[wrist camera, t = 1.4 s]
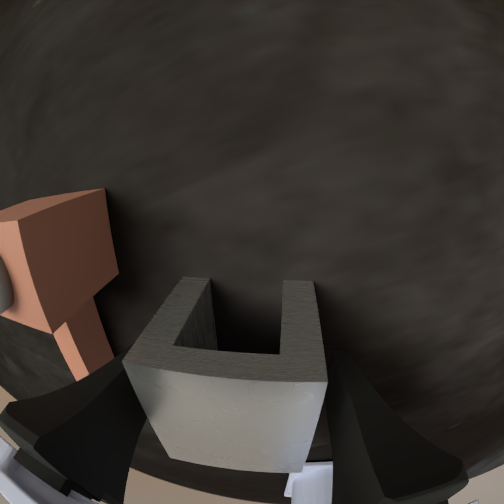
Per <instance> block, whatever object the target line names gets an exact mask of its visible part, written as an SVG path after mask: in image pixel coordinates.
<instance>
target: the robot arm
mask: <svg viewBox="0 0 504 504" xmlns="http://www.w3.org/2000/svg"><path fill="white" fill-rule="evenodd" d="M132 346H133V345H131V346H130V347H129V348H127V349H126V350H124V351H123V352H122V353H120V354H119V355H118V356H116V357H115V358H113V359H112V360H111V361H109V362H108V363H106V364H105V365H103V366H102V367H100V368H99V369H97V370H95V371H94V372H92V373H91V374H89V375H87V376H86V377H84V378H82V379H80V380H78V381H76V382H74V383H72V384H70V385H68V386H66V387H63V388H61V389H59V390H56V391H54V392H51V393H48V394H45V395H42V396H38V397H34V398H30V399H25V400H20V401H14V402H9V404H8V405H7V406H6V408H5V409H4V410H3V411H2V413H1V414H0V426H1V428H2V429H3V430H4V431H5V432H6V433H7V434H8V435H9V437H10V438H11V439H12V440H13V441H14V442H15V443H16V444H17V445H18V446H19V447H20V448H19V450H18V451H17V450H16V449H15V448H14V447H13V446H11V445H10V444H9V443H8V442H7V441H6V440H4V439H3V438H2V437H1V436H0V493H2V495H3V496H4V497H5V498H6V499H7V500H8V501H9V502H10V504H98V503H96V502H94V501H92V500H91V499H94V500H96V501H99V502H100V501H103V502H105V503H107V504H123V502H124V494H125V487H126V482H127V477H128V472H129V468H130V464H131V460H132V457H133V453H134V450H135V447H136V444H137V440H138V437H139V435H140V432H141V430H142V428H143V426H144V424H145V421H146V419H147V415H146V413H145V411H144V409H143V407H142V405H141V403H140V401H139V399H138V397H137V395H136V393H135V391H134V388H133V386H132V384H131V382H130V379H129V377H128V375H127V372H126V370H125V368H124V365H123V363H122V360H123V359H124V357H125V356H126V354H127V353H128V352H129V350H130V349H131V347H132ZM327 378H328V384H327V388H326V392H325V398H326V410H327V417H328V424H329V431H330V438H331V445H332V455H333V461H330V462H305V464H304V467H303V470H302V473H290V474H289V477H288V481H287V485H286V489H285V493H284V496H286V497H292V500H291V504H448V499H449V498H450V497H451V496H453V495H455V494H456V493H457V492H459V491H460V490H462V489H463V488H464V487H465V486H466V485H467V484H468V482H469V480H468V476H467V472H466V469H465V466H464V464H463V461H462V460H460V459H458V458H456V457H454V456H452V455H450V454H448V453H446V452H444V451H443V450H441V449H439V448H438V447H436V446H435V445H433V444H432V443H430V442H429V441H427V440H426V439H425V438H423V437H422V436H421V435H420V434H418V433H417V432H416V431H414V430H413V429H412V428H411V427H410V426H408V425H407V424H406V423H405V422H404V421H403V420H402V419H401V418H400V417H399V416H398V415H397V414H396V413H395V412H394V411H393V410H392V409H391V408H390V407H389V405H388V404H387V403H386V402H385V401H384V400H383V398H382V397H381V396H380V395H379V394H378V392H377V391H376V390H375V388H374V387H373V386H372V384H371V383H370V382H369V380H368V379H367V378H366V376H365V375H364V373H363V372H362V370H361V369H360V367H359V366H358V364H357V363H356V361H355V360H354V358H353V356H352V355H351V353H350V352H349V350H348V349H334V350H332V353H331V358H330V363H329V368H328V373H327ZM469 504H479V501H478V500H475V501H473V502H471V503H469Z"/></svg>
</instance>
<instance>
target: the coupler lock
mask: <svg viewBox="0 0 504 504" xmlns="http://www.w3.org/2000/svg"><path fill="white" fill-rule="evenodd" d="M122 363H123V365H124V368H125V370H126V372H127V375H128V377H129V379H130V382H131V384H132V386H133V388H134V391H135V393H136V395H137V397H138V399H139V401H140V403H141V405H142V407H143V409H144V411H145V413H146V415H147V417H148V419H149V421H150V423H151V425H152V427H153V429H154V430H155V432H156V434H157V436H158V438H159V439H160V441H161V443H162V445H163V446H164V448H165V450H166V451H167V453H168V455H169V456H170V458H174V459H178V460H183V461H187V462H192V463H197V464H202V465H208V466H214V467H221V468H228V469H236V470H246V471H258V472H276V473H302V470H303V467H304V464H305V461H306V458H307V455H308V452H309V449H310V446H311V443H312V440H313V436H314V433H315V429H316V426H317V422H318V419H319V415H320V412H321V408H322V404H323V400H324V396H325V392H326V388H327V384H328V378H327V370H326V362H325V354H324V347H323V340H322V333H321V326H320V320H319V313H318V307H317V301H316V295H315V289H314V283H313V281H288V280H283V299H282V321H281V341H280V355H278V354H255V353H240V352H227V351H218V345H217V337H216V329H215V321H214V312H213V303H212V293H211V284H210V278H199V277H182V279H181V280H180V281H179V283H178V284H177V285H176V287H175V288H174V289H173V291H172V292H171V293H170V295H169V296H168V297H167V299H166V300H165V301H164V303H163V304H162V305H161V307H160V308H159V310H158V311H157V312H156V314H155V315H154V316H153V318H152V319H151V321H150V322H149V323H148V325H147V326H146V328H145V329H144V330H143V332H142V333H141V335H140V336H139V337H138V339H137V340H136V342H135V343H134V344H133V346H132V347H131V349H130V350H129V352H128V353H127V354H126V356H125V357H124V359H123V360H122Z"/></svg>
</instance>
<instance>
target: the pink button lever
mask: <svg viewBox="0 0 504 504" xmlns="http://www.w3.org/2000/svg"><path fill="white" fill-rule="evenodd" d="M118 274H119V271H118V266H117V262H116V257H115V252H114V246H113V241H112V235H111V229H110V223H109V216H108V209H107V202H106V194H105V188H103V189H96V190H88V191H81V192H74V193H67V194H61V195H55V196H49V197H43V198H38V199H33V200H28V201H25V202H22V203H20V204H17V205H14V206H12V207H9V208H6V209H4V210H1V211H0V315H2V316H4V317H6V318H9V319H11V320H14V321H17V322H19V323H22V324H24V325H27V326H30V327H33V328H36V329H38V330H41V331H44V332H47V333H50V334H54V337H55V339H56V341H57V343H58V345H59V348H60V350H61V352H62V354H63V356H64V358H65V360H66V362H67V364H68V366H69V368H70V370H71V371H72V373H73V375H74V377H75V379H76V381H78V380H80V379H82V378H84V377H86V376H87V375H89V374H91V373H92V372H94V371H95V370H97V369H99V368H100V367H102V366H103V365H105V364H106V363H108V362H109V361H111V360H112V359H113V358H114V355H113V353H112V350H111V348H110V345H109V343H108V340H107V337H106V334H105V332H104V329H103V326H102V323H101V320H100V317H99V314H98V311H97V308H96V305H95V302H94V298H93V296H94V295H95V294H96V293H97V292H98V291H99V290H101V289H102V288H103V287H104V286H105V285H106V284H107V283H109V282H110V281H111V280H112V279H113V278H114V277H116V276H117V275H118Z"/></svg>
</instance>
